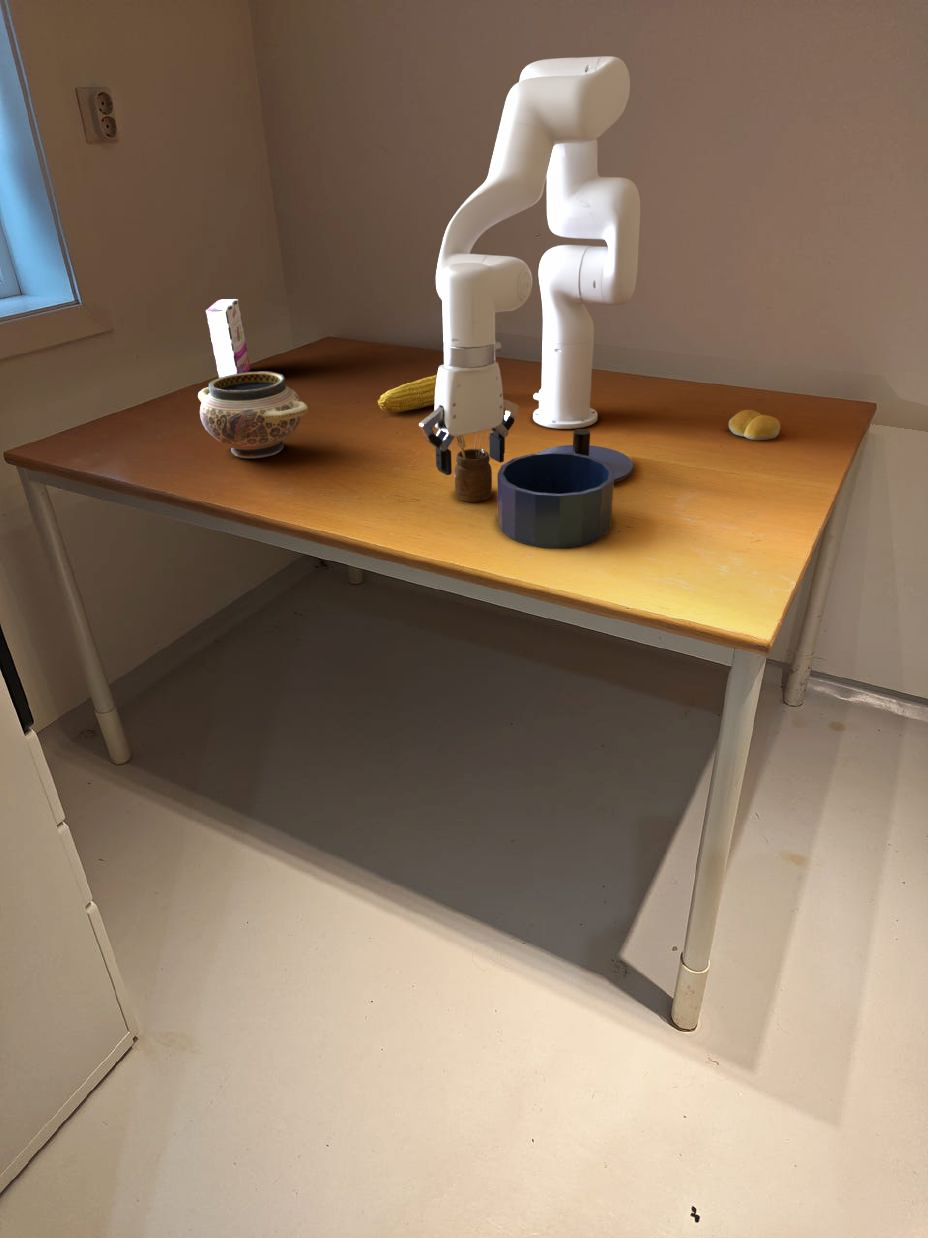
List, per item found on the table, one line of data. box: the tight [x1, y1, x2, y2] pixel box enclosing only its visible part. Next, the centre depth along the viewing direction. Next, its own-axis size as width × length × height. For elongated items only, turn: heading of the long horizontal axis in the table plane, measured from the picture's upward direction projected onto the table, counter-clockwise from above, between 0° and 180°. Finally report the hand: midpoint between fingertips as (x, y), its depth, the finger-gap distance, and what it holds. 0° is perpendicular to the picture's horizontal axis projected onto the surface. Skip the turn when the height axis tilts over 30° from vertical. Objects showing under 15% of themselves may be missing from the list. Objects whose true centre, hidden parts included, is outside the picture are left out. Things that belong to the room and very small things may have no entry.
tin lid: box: [537, 428, 634, 483], centre depth 141 cm, size 18×18×7 cm
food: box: [377, 373, 438, 413], centre depth 173 cm, size 21×6×6 cm, turn 127°
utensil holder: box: [454, 430, 493, 503], centre depth 132 cm, size 6×6×12 cm
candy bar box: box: [205, 298, 251, 378], centre depth 193 cm, size 11×5×16 cm, turn 179°
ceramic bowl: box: [197, 370, 309, 459], centre depth 152 cm, size 24×18×15 cm
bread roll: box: [728, 409, 781, 441], centre depth 155 cm, size 8×9×4 cm
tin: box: [496, 452, 615, 549], centre depth 123 cm, size 17×17×8 cm
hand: (471, 466), depth 132 cm, fingers open, 9 cm apart
